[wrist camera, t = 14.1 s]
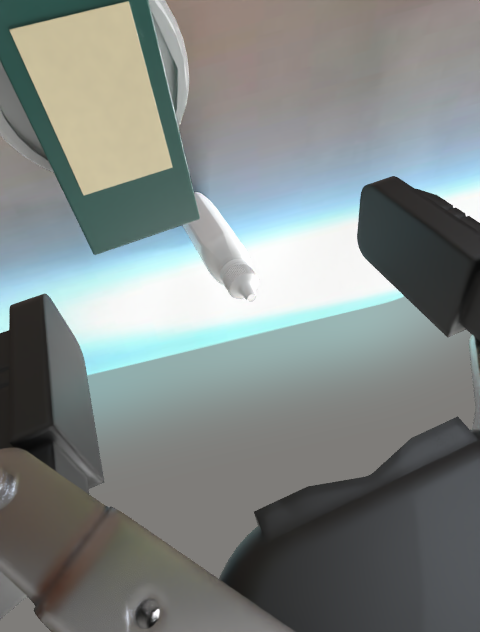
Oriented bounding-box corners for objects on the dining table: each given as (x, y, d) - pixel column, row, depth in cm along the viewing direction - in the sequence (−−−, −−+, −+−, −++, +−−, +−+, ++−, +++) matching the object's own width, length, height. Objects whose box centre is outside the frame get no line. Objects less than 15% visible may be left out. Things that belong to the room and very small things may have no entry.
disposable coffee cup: (143, 116, 31) (191, 186, 23) (-2, 115, 28) (-5, 195, 20) (139, -53, 25) (203, -40, 17) (-47, -83, 22) (-80, -85, 13)
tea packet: (-63, -93, 14) (-77, -96, 11) (101, -123, 14) (118, -131, 12) (85, 223, 22) (94, 256, 20) (182, 191, 23) (201, 220, 21)
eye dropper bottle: (177, 248, 40) (221, 332, 32) (175, 192, 36) (224, 271, 28) (221, 241, 41) (274, 320, 33) (223, 186, 37) (283, 260, 29)
